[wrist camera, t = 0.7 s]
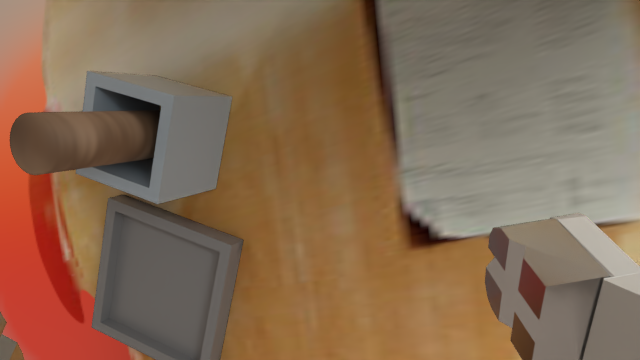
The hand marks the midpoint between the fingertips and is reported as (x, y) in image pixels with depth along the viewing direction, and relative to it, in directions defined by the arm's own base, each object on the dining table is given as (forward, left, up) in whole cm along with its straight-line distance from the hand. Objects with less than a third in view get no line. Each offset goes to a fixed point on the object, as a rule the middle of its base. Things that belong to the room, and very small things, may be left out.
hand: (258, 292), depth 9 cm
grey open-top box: (+6, -25, -33) cm, 42 cm away
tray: (+21, -24, -33) cm, 46 cm away
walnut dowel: (+6, -25, -33) cm, 42 cm away
